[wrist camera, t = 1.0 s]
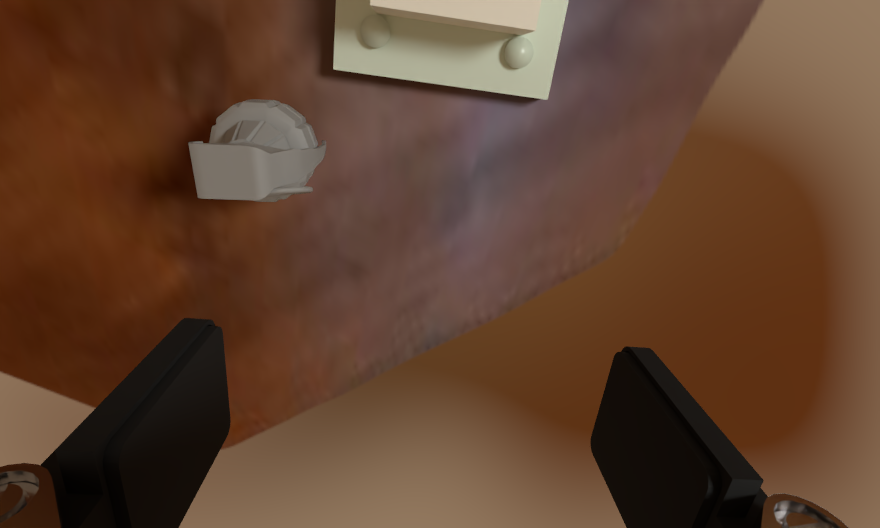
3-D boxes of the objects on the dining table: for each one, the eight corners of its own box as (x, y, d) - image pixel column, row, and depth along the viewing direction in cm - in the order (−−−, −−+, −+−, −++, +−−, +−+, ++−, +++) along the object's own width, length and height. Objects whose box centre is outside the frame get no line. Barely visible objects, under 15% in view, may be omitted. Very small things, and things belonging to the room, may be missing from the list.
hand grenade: (249, 180, 33) (172, 229, 23) (237, 93, 31) (147, 106, 21) (339, 182, 33) (303, 232, 23) (335, 97, 31) (293, 111, 21)
